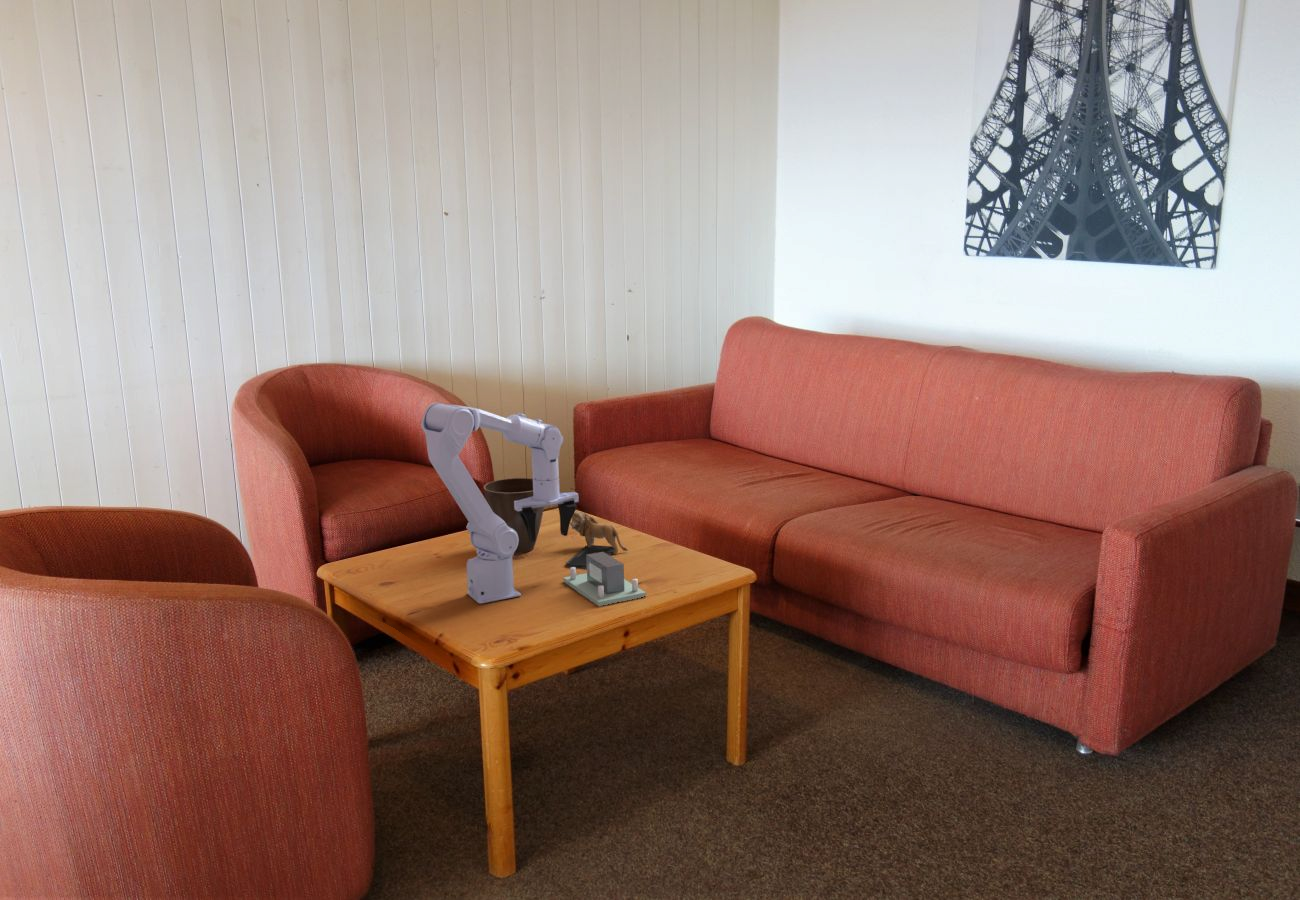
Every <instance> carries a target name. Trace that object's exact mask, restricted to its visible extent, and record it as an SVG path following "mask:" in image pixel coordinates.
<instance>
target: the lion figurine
mask: <svg viewBox="0 0 1300 900" xmlns="http://www.w3.org/2000/svg"><path fill="white" fill-rule="evenodd" d="M569 526H571V529H572V530H575V531H576V532H577V533H579V535H580V536H581V537H584V538H585V542H586V546H587V547H591V545H595V539H604V538H605V539H606V540H605V541H606V542H607V543H608V544H609V545H610V546H611V547H612V548H614V551H613V555H617V554H618V552H619V549H618V546H619V547H620V548H621V550H622V551H623V552H624V551H625V552H628V548H626V547H624V546H623V545H622V543H621V540H620V537H619V534H618V530H617V528H616V527H615V525H613V524H612V523H600V522H597V521H596V519H595V518H594V517H592V516H591V515H589V514H588V513H585V512H583V511H575V512H574V514H573V516H572V518H571V521H570V525H569ZM616 541H617V542H616ZM617 543H618V545H617Z"/></svg>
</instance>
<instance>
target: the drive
mask: <svg viewBox="0 0 1300 900" xmlns="http://www.w3.org/2000/svg"><path fill="white" fill-rule="evenodd" d="M586 560H587V569H586V573H587V581H588V582H589V583H591V584H592V585H594V586H596V587H597V588H598V586H600V585H602V586H604V592H605V593H606V594H612V593H617V592H622V591H624V579H625V566H624V565H625V564H624V562H623V563H622V561H619V560H618V559H616V558H615V557H613V556H612V555H611V556H609V555H608V554H606V553H604V552H599V553H593V554H588V555H586Z"/></svg>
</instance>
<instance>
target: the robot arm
mask: <svg viewBox="0 0 1300 900" xmlns="http://www.w3.org/2000/svg"><path fill="white" fill-rule="evenodd" d="M422 416H423V417H422V421H421V424H420V428H421V429H422V431H423V433H424V434H425V441H426V448H427V455H428V460H429V462H430V464H431V465H432V466H433V468H434V470H435V471H436V473H437V475H438V476H439V478H440V479H441V481H442V482H443V484H444V485H445V487H446V488H447V490H448V491H449V493H450V495H451V496H452V498H453V499H454V501H455V503H456V504H457V505H458V507H459V509H460V510H461V512H462V514H463V515H464V517H465V518H466V519H467V521H468V522H467V525H466V530H467V531H468V533H469V540H470V543H471V544H472V547H474V548H475V549H476V550H475V551H476V554H477V556H475V557H473V558H469V559H467V561H466V582H467V583H466V584H467V591H466V594H467V595H469V597H471V598H472V599H473V600H474V601H475V602H476V603H478V604H479V605H481V604H487V603H491V602H496V601H500V600H506V599H507V600H508V599H511V598H517V597H521V595H522V594H521V593H520V592H519V591H518V590H517V589H515V585H514V584H515V583H514V564H513V556H514V554H515V553H514V552H515V550H516V549H517V546H518V542H519V538H518V534H517V532H516V531H515V530H514V529H512V528H510V527H508V526H507V524H506V523H505V521H504V520H502V519H501V518H500V517H499V516H497V515H496V514H495V513H494V512H493V511H492V509H491V508H490V506H489V504H488V503H487V501H486V497H485V495H483V493H482V491H481V490H480V488H479V487H478V485H477V484H476V482H475V481H474V479H473V477H472V476H471V474H470V472H469V471H468V469H467V467H466V466H465V465H464V462H463V461H462V460H461V458H460V456H459V454H460V453H461V452H462V451H463V448H464V447H465V444H466V443H467V442H468V440H469V438H470V436H471V434H472V432H476V431H478V429H479V428H484V429H486V430H487V429H488V430H491V431H495V432H499V433H501V434H502V436H503V438H504V440H506V441H508V442H512V443H514V444H519V445H522V446H526V447H528V448H529V449H531V450H530V451H531V471H532V479H533V497H529V498H525V499H522V500H517V501H514V509H515V510H516V511H518V513H519V514H520V516H521V518H522V520H523V522H524V524H525V527H526V529H527V533H528V536H529V540H531V541H532V542H533V541H535V540H536V535H535V519H536V513H534V512H533V510H532V508H537V507H544V508H545V507H548V506H557V508H558V514H559V526H560V527H559V529H560V535H562V536H564V537H568V534H569V533H568V532H569V527H570V526H571V525H570V523H571V522H572V516H573V514H574V513H575V512H576V510H577V504H576V503H579V498H580V497H579V493H577V492H576V491H573V492H572V491H571V492H560V477H559V476H560V474H559V473H560V472H559V456H561V455H560V450H561V446H562V445H563V442H564V436H562V433H561V431H560V429H559V428H558V426H556V425H552V424H549V423H543V420H542V419H538V418H537V419H536V418H535V420H534V419H530V418H528V417H526V416H527V415H526V414H525V413H520V412H517V414H511V415H508V416H507V417H503V416H501V415H498V414H495V413H492V412H490V411H486V410H482V409H480V408H476V407H471V406H467V405H466V406H464V405H458V404H445V403H442V402H433V403H431V404H430V405H428V406H427V408H426V409H425V411H424V414H423V415H422ZM536 541H537V540H536Z"/></svg>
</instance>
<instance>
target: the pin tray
mask: <svg viewBox="0 0 1300 900" xmlns="http://www.w3.org/2000/svg"><path fill="white" fill-rule="evenodd" d="M569 570H570V571H569V573H570V575H569V576H565V577H564V576H563V578H562V579H563V583H564V584H566V585H567V586H569V587H571V589H573V590H575V591H576V592H577V593H579V594H580V595H582V596H583V597H584V598H586V599H588V600H589V602H592V603H593V602H594V604H595V606H597V607H604V606H608V604H609V605H613V604H612V603H614V604H618V603H617V602H619V603H622V601H623V602H628V601H632V599H633V600H637V598H638V599H642V598H641V597H643V598H645V597H644V596H646V597H647V592H646V591H644V590H643V589H642V588H639V581H638V578H632V579H631V582H629V580H627V579H625V578H624V591H622V592H617V593H612V594H606V593H605V592H604V586H602V585H600V586H598V588H597V587H596V586H594V585H592V584H591V583H589V582H588V581H587V572H586V573H580V574H577V571H576V570H577V568H575V567H569ZM627 600H628V601H627ZM603 605H604V606H603Z"/></svg>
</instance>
